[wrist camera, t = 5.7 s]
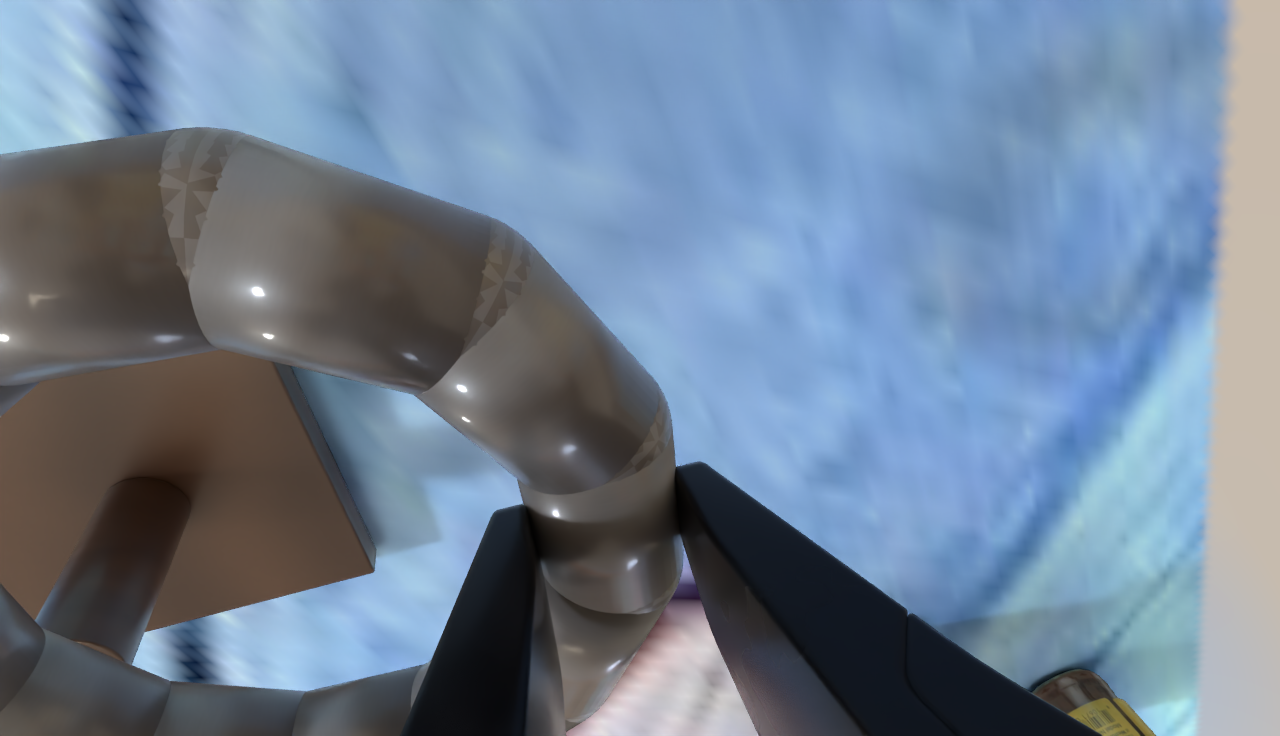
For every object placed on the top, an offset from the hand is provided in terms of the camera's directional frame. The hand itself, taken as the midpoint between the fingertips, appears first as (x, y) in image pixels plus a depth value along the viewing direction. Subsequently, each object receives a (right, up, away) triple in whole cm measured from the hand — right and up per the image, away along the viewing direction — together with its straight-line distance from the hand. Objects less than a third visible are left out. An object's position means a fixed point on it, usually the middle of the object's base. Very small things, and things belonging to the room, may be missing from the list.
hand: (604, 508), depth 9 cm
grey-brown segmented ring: (-4, -1, 0) cm, 4 cm away
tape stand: (-13, -1, +10) cm, 16 cm away
